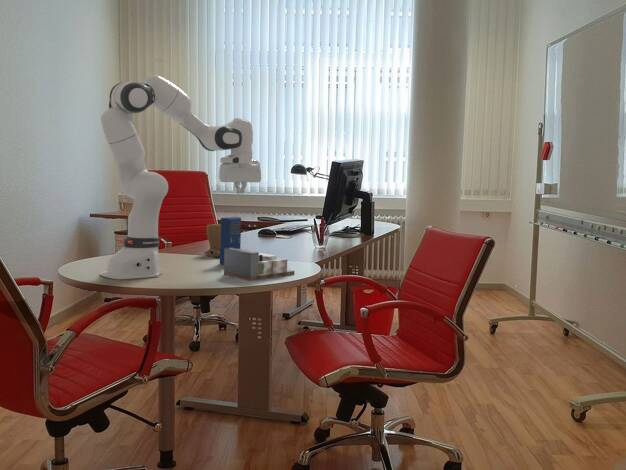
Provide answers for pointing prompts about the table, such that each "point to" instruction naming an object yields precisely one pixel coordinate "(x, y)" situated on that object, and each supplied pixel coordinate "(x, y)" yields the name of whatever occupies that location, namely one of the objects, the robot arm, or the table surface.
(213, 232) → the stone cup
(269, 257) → the plunger
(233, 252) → the grey rectangular block
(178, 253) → the table surface
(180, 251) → the table surface
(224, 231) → the electronic device
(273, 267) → the gauge base
